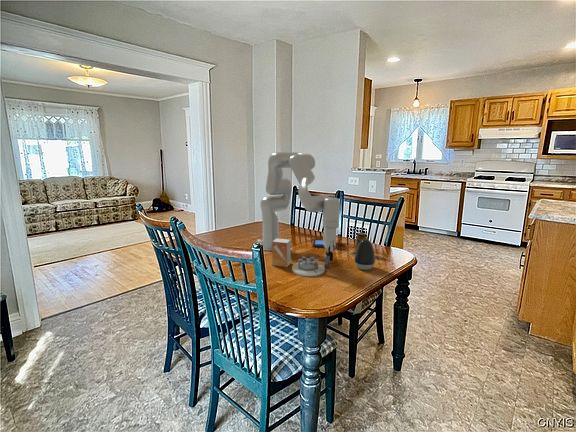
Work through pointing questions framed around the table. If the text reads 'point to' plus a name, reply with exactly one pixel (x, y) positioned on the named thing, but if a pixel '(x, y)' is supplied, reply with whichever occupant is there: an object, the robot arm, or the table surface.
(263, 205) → the robot arm
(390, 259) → the table surface
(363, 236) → the condiment
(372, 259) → the pump dispenser
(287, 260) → the small box
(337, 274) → the table surface
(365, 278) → the table surface
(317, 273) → the cap plate
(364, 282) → the table surface
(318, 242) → the handheld game console
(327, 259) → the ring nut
